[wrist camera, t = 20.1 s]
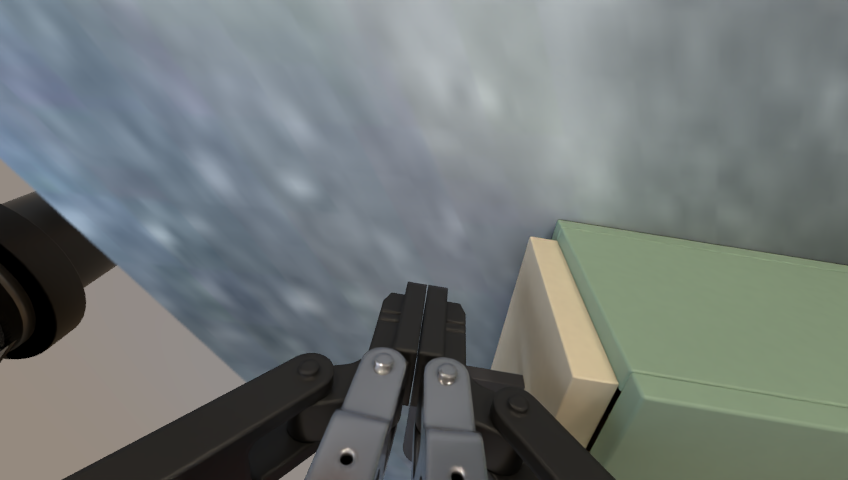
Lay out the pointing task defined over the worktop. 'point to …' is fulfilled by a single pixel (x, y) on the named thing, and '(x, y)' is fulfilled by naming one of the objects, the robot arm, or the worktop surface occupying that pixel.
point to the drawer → (548, 347)
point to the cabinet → (715, 357)
